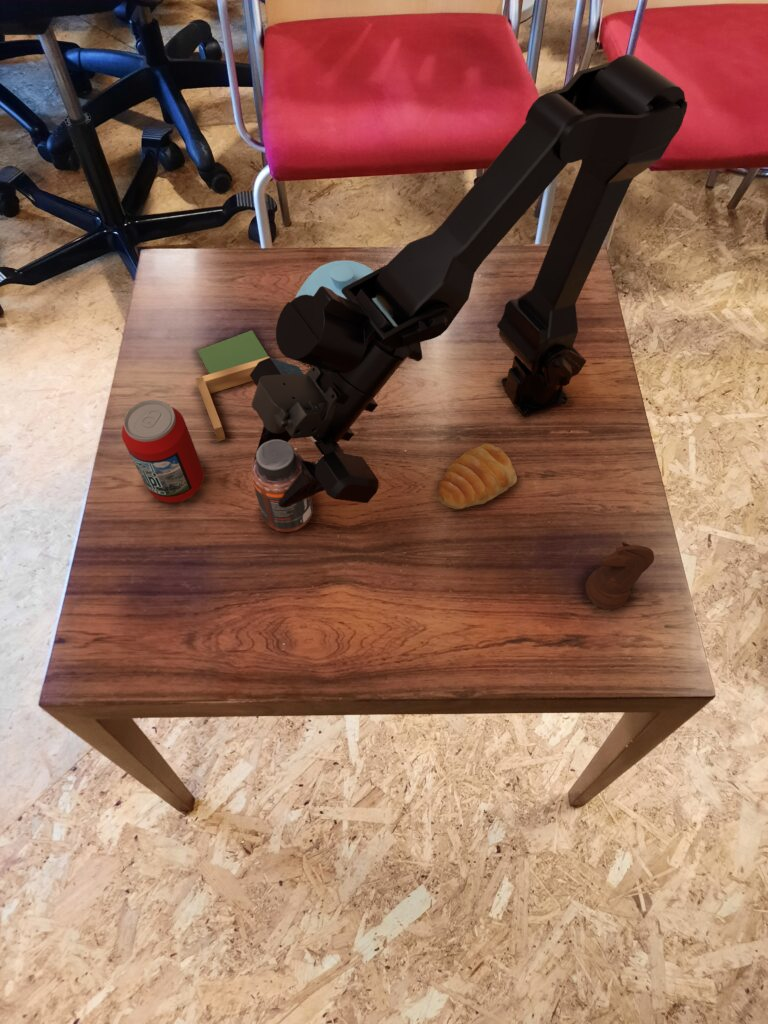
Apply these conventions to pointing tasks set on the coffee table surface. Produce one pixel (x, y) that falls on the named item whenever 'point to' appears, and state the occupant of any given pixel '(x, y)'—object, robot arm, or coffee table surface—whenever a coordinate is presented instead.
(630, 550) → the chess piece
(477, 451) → the pastry
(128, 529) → the coffee table surface
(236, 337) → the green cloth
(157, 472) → the beverage can
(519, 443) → the coffee table surface
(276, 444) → the supplement bottle
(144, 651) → the coffee table surface
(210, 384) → the corner guard
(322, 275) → the sugar bowl
